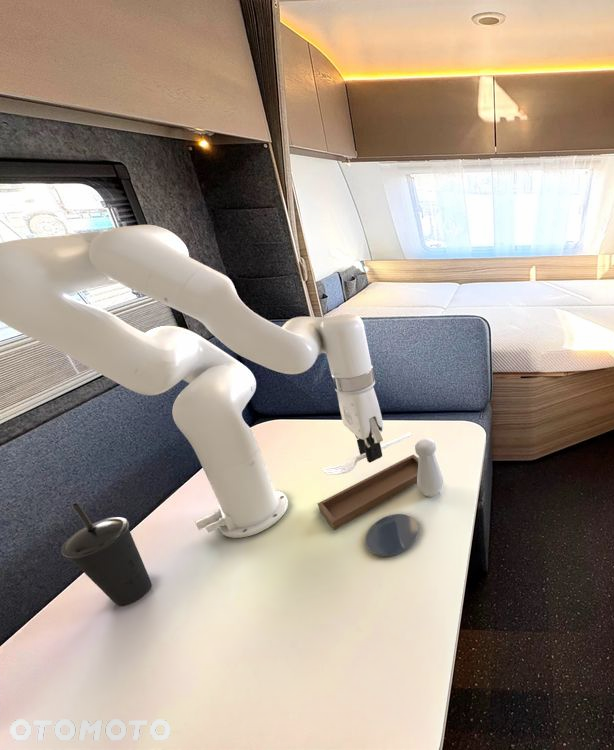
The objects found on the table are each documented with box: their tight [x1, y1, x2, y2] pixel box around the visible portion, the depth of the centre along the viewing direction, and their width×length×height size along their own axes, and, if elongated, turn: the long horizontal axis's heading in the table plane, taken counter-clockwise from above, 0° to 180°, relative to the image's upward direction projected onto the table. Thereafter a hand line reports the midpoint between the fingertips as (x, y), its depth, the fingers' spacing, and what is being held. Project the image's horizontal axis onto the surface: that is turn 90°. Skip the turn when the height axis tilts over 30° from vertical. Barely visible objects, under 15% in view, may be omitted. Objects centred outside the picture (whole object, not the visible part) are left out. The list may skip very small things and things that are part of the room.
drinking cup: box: [60, 502, 153, 607], centre depth 62 cm, size 8×8×20 cm
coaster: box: [365, 513, 420, 558], centre depth 75 cm, size 10×10×1 cm
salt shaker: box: [414, 438, 444, 498], centre depth 84 cm, size 6×6×13 cm
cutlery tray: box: [317, 453, 419, 531], centre depth 86 cm, size 24×8×2 cm, turn 134°
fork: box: [320, 432, 412, 476], centre depth 82 cm, size 3×20×2 cm, turn 134°
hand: (371, 455), depth 83 cm, fingers closed on fork, 2 cm apart
